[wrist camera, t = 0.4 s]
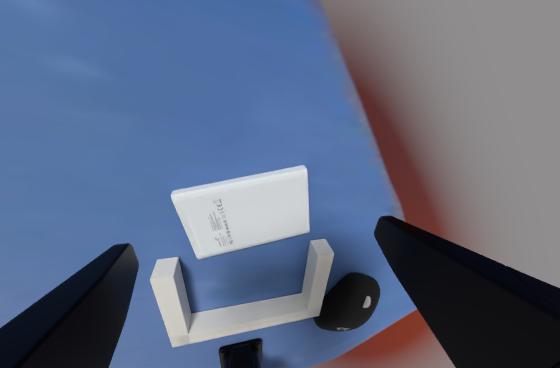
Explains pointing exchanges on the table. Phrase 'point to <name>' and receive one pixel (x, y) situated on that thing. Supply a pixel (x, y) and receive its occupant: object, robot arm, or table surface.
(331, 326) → the computer mouse
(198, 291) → the table surface
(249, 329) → the dock
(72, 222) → the table surface
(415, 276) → the robot arm
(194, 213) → the external hard drive
